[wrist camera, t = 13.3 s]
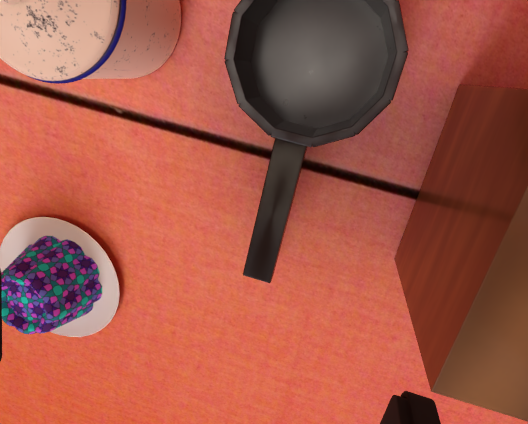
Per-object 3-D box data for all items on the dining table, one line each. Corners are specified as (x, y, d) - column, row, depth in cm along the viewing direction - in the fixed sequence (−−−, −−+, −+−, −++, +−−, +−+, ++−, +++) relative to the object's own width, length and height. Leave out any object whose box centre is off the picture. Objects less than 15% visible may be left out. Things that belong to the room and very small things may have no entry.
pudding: (-9, 212, 36) (-63, 233, 32) (113, 216, 34) (74, 239, 29) (20, 327, 40) (-25, 361, 35) (132, 337, 38) (100, 375, 33)
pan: (263, -39, 26) (245, -64, 22) (417, -6, 25) (433, -24, 21) (210, 234, 33) (187, 259, 28) (329, 268, 32) (326, 301, 27)
